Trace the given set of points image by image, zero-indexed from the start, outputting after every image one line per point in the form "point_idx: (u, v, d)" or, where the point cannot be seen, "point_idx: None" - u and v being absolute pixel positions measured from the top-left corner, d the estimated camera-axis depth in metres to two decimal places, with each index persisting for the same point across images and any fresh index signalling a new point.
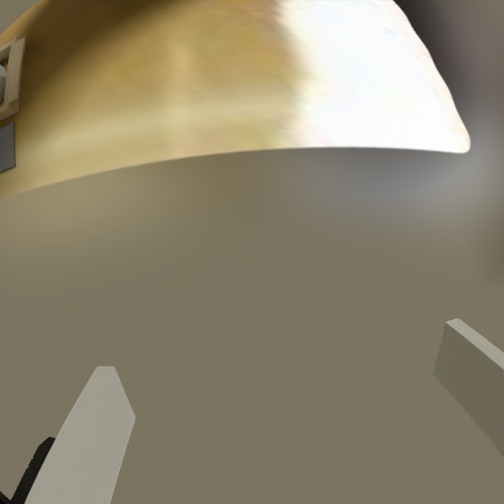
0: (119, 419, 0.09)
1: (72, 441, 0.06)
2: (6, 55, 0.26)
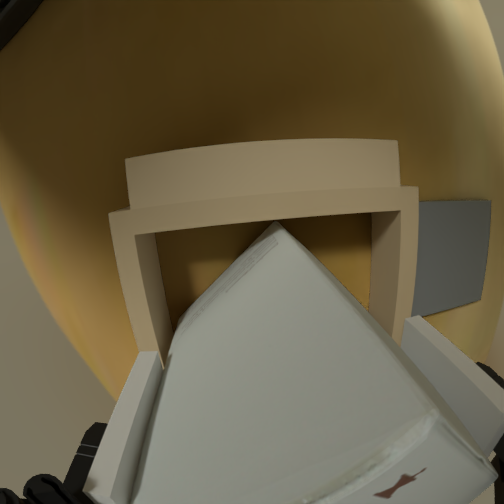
0: None
1: (128, 422, 0.07)
2: (159, 286, 0.14)
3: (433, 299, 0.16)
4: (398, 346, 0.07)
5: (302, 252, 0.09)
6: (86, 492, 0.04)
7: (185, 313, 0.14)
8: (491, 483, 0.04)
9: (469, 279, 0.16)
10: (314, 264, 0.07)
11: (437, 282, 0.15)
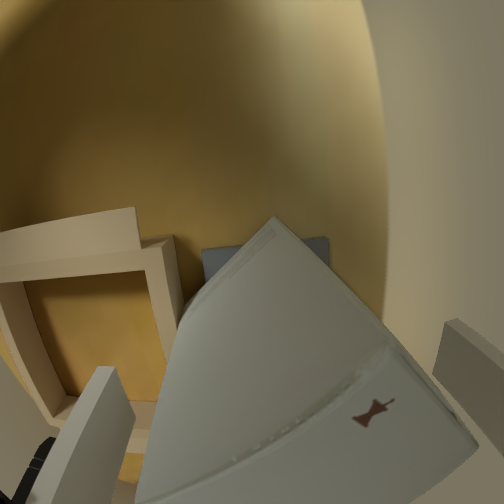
0: (120, 419, 0.09)
1: (73, 441, 0.06)
2: (25, 313, 0.16)
3: None
4: None
5: (296, 240, 0.10)
6: None
7: (191, 300, 0.16)
8: (472, 452, 0.05)
9: None
10: (306, 249, 0.09)
11: None
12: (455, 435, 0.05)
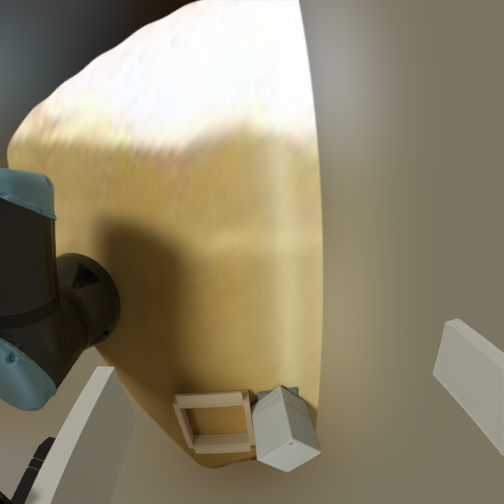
0: (119, 419, 0.09)
1: (72, 441, 0.06)
2: (184, 411, 0.47)
3: None
4: (300, 425, 0.39)
5: (285, 408, 0.41)
6: None
7: (254, 407, 0.47)
8: (319, 452, 0.37)
9: None
10: (286, 413, 0.40)
11: None
12: (309, 448, 0.36)
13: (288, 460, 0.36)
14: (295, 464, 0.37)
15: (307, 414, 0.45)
